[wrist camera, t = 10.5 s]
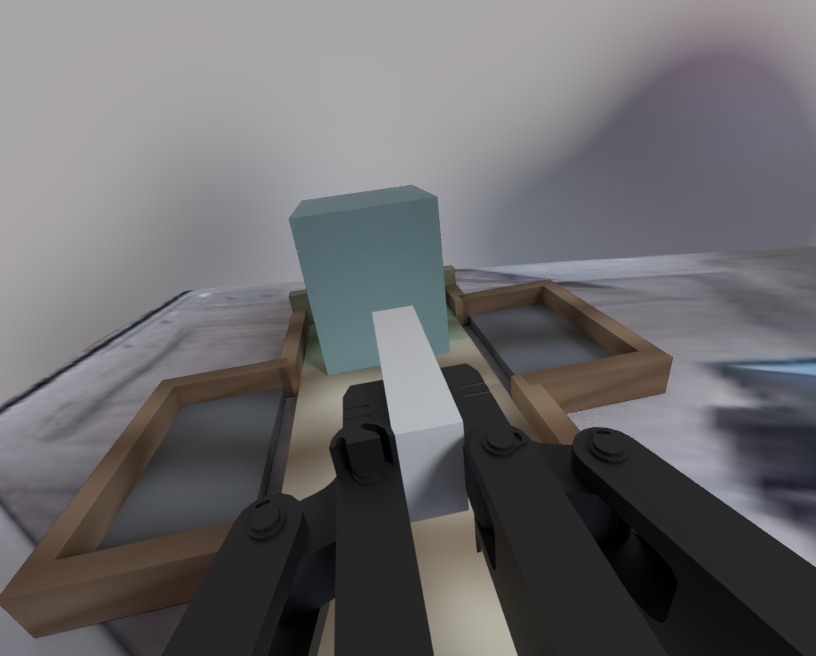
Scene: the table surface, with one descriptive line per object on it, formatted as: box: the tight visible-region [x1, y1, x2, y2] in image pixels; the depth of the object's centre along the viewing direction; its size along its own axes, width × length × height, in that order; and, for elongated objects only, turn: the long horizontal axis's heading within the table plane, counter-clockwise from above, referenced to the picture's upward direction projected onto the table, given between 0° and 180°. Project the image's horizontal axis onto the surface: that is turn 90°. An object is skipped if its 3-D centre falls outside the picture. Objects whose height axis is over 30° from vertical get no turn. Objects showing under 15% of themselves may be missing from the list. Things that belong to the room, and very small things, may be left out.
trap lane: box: [0, 266, 673, 656], centre depth 24 cm, size 29×31×4 cm
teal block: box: [289, 185, 450, 375], centre depth 29 cm, size 9×9×11 cm
